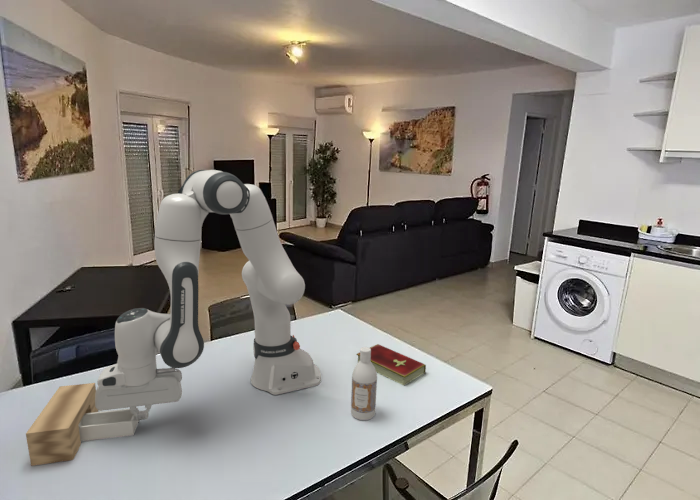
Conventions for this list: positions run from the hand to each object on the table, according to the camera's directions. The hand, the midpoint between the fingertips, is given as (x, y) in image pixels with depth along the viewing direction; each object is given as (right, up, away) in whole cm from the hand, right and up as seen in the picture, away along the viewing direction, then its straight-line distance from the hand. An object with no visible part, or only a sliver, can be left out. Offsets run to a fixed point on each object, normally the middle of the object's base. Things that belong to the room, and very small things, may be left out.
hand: (142, 418), depth 111 cm
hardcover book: (+69, +3, +35) cm, 77 cm away
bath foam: (+59, -2, +9) cm, 59 cm away
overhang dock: (-17, -3, -4) cm, 18 cm away
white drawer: (-8, -3, -2) cm, 9 cm away
